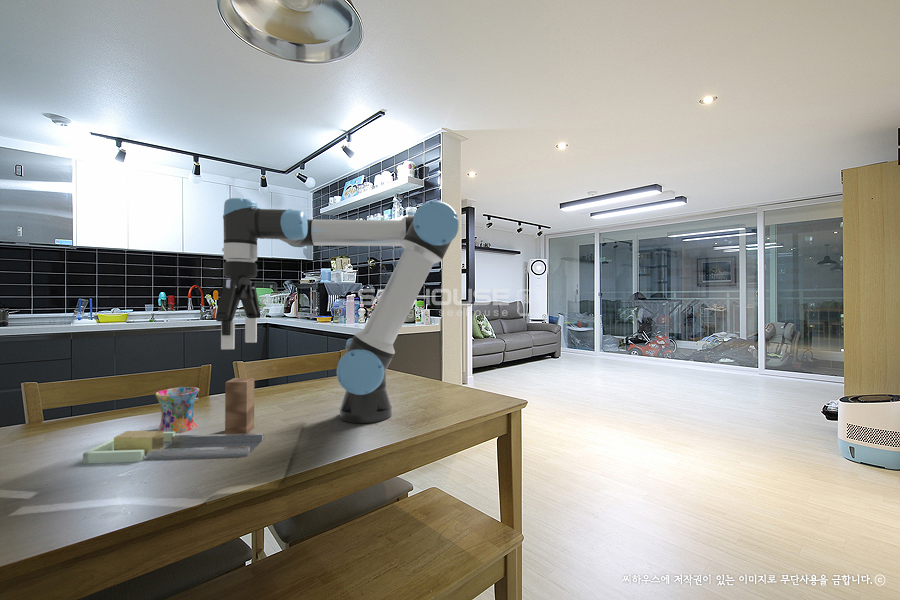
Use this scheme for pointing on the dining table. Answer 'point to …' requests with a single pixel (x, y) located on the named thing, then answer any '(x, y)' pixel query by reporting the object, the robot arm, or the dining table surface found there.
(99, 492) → the dining table surface
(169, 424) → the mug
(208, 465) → the dining table surface
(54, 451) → the dining table surface
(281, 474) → the dining table surface
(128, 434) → the chip
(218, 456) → the slot rail
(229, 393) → the block
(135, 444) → the tan boxy piece
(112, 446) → the tray
